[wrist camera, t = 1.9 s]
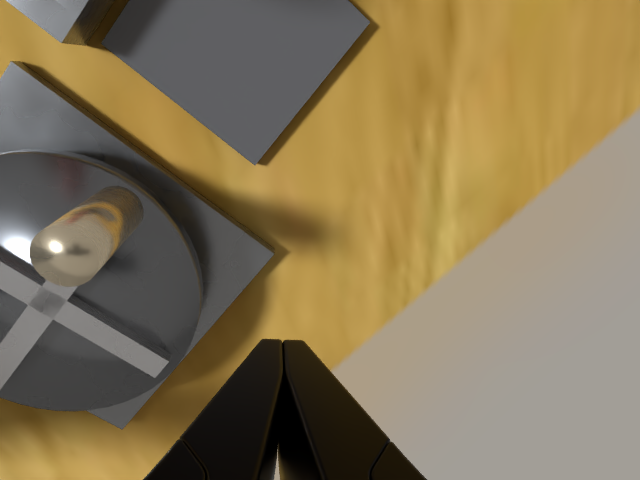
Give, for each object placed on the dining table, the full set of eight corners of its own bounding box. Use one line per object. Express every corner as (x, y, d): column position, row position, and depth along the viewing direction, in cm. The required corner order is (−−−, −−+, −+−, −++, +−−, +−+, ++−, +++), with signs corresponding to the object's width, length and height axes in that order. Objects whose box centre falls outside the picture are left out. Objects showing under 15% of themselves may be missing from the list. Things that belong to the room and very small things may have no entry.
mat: (255, 163, 19) (255, 165, 19) (104, 44, 17) (101, 43, 17) (368, 23, 17) (370, 22, 17) (217, -127, 15) (216, -132, 15)
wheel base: (126, 420, 23) (117, 440, 22) (-120, 289, 20) (-147, 304, 18) (274, 248, 20) (274, 260, 19) (20, 61, 17) (-1, 60, 16)
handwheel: (111, 433, 21) (59, 547, 16) (-135, 305, 18) (-295, 398, 13) (256, 265, 19) (248, 337, 14) (1, 82, 16) (-130, 90, 11)
